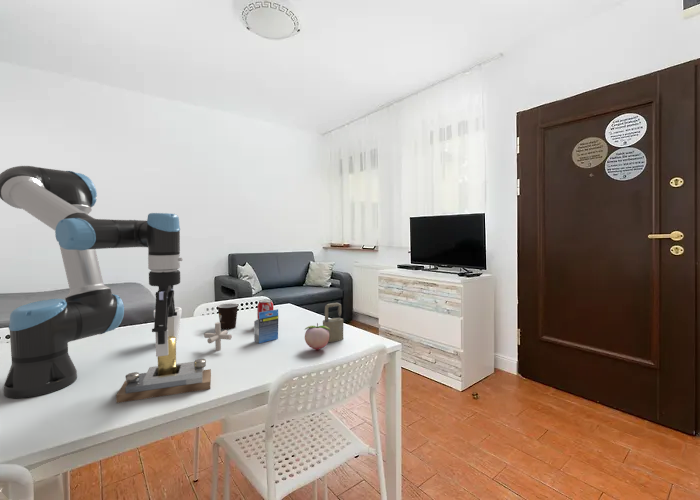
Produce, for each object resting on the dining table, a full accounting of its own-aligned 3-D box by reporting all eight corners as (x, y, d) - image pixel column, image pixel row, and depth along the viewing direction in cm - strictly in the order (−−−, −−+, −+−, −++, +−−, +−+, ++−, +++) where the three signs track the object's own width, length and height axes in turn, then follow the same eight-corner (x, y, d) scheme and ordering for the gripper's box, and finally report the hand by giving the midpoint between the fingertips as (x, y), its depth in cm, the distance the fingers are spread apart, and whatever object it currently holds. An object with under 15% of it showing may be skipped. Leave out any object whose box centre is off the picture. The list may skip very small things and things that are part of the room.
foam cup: (186, 338, 136) (185, 306, 135) (175, 346, 126) (174, 312, 126) (162, 338, 135) (161, 306, 134) (149, 346, 126) (148, 312, 125)
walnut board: (116, 403, 85) (116, 395, 85) (125, 387, 94) (125, 380, 94) (210, 388, 93) (210, 381, 93) (210, 375, 102) (210, 369, 102)
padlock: (344, 339, 136) (344, 303, 135) (326, 343, 131) (326, 305, 130) (339, 337, 139) (339, 301, 138) (321, 340, 135) (321, 303, 134)
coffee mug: (218, 325, 154) (218, 304, 154) (238, 324, 157) (238, 302, 156) (216, 333, 143) (216, 309, 142) (237, 331, 146) (237, 308, 145)
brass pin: (156, 385, 91) (155, 341, 90) (159, 378, 95) (158, 336, 94) (175, 383, 92) (174, 340, 91) (177, 376, 96) (176, 335, 96)
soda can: (276, 326, 154) (276, 300, 153) (265, 329, 148) (265, 303, 147) (265, 323, 158) (265, 298, 157) (254, 327, 152) (253, 301, 151)
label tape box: (273, 336, 139) (273, 307, 138) (278, 339, 136) (278, 309, 135) (254, 341, 133) (253, 310, 132) (259, 344, 130) (259, 312, 129)
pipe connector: (222, 355, 117) (222, 327, 117) (197, 353, 119) (196, 325, 119) (237, 346, 127) (237, 320, 127) (214, 344, 129) (213, 318, 129)
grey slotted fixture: (121, 394, 86) (121, 376, 86) (130, 380, 94) (129, 363, 94) (205, 382, 93) (205, 365, 93) (206, 369, 101) (206, 354, 101)
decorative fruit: (306, 355, 118) (306, 327, 118) (303, 347, 126) (303, 321, 126) (332, 353, 121) (332, 325, 120) (327, 345, 129) (327, 319, 128)
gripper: (174, 276, 81) (175, 361, 83) (184, 264, 104) (185, 332, 106) (138, 277, 79) (140, 365, 80) (156, 265, 102) (158, 334, 103)
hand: (166, 346), depth 93 cm, fingers open, 13 cm apart
